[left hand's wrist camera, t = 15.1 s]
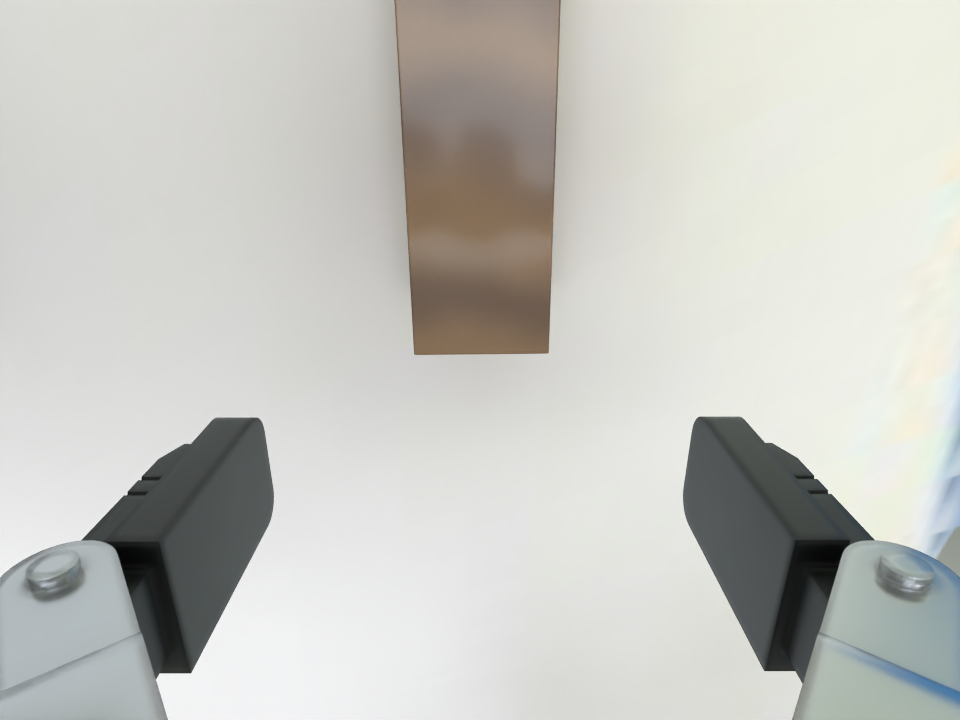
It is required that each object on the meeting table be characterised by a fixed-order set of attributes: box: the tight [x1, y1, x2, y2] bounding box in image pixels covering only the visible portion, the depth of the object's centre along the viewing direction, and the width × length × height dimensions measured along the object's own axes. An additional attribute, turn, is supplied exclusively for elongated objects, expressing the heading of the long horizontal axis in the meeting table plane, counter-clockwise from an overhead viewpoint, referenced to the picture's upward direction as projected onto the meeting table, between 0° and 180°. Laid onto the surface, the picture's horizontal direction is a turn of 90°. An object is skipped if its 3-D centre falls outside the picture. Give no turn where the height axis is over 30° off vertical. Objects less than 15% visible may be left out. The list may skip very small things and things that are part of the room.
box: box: [395, 0, 561, 355], centre depth 25 cm, size 28×6×10 cm, turn 1°
